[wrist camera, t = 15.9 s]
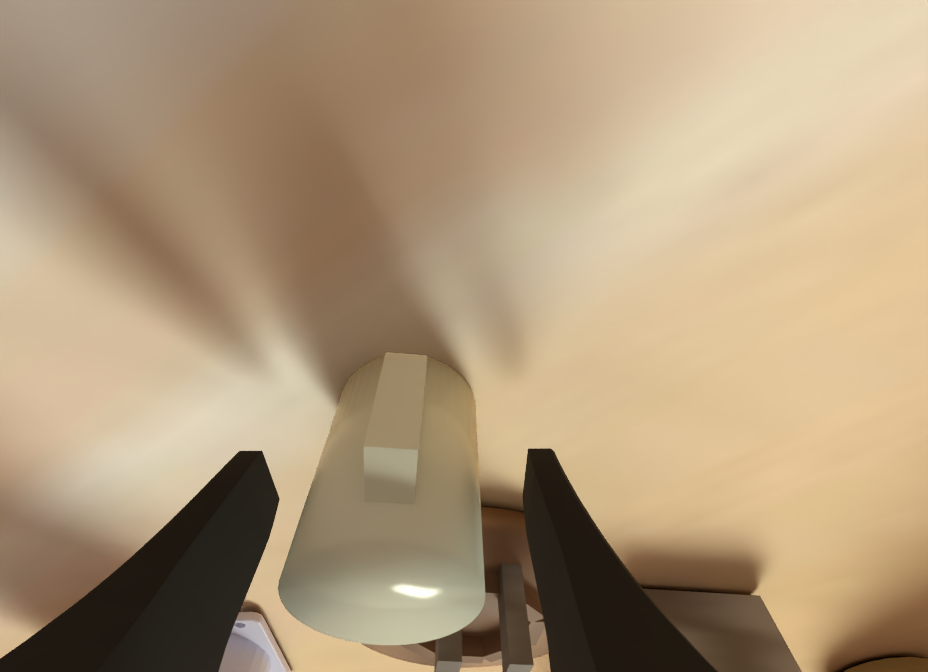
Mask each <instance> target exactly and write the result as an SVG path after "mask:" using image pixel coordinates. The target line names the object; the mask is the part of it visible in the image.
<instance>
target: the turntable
mask: <svg viewBox="0 0 928 672" xmlns="http://www.w3.org/2000/svg"><path fill="white" fill-rule="evenodd" d="M481 521H482V540H483V560H484V580H485V603H484V606H483V608H482V610H481V612H480V613H479V615H478V616H477V617H476V618H475V619H474V620H473V621H472V622H471V623H470V624H468V625H467V626H466V627H464V628H462V629H460V630H459V631H457V632H455V633H452V634H450V635H448V636H445V637H442V638H439V639H435V640H431V641H427V642H422V643H415V644H407V645H372V644H363V643H361V644H363V645H364V646H366V647H368V648H370V649H372V650H374V651H377V652H379V653H381V654H384V655H387V656H390V657H393V658H396V659H400V660H404V661H408V662H413V663H418V664H423V665H431V666H435V672H459V671H460V668H470V667H488V666H498V665H502V666H503V672H530V671H531V669H532V667H533V658H536V657H540V656H542V655H545V654H548V653H549V651H548V643H547V636H546V630H545V624H544V619H543V614H542V609H541V604H540V599H539V594H538V589H537V585H536V580H535V575H534V570H533V565H532V560H531V555H530V550H529V545H528V540H527V535H526V526H525V516H524V513H523V512H518V511H513V510H508V509H500V508H491V507H481ZM643 590H644V591H645V592H646V593H647V594H648V596H649V597H650V598H651V599H652V600H653V601H654V603H655V604H656V605H657V606H658V607H659V609H660V610H661V611H662V612H663V613H664V614H665V616H666V617H667V618H668V619H669V620H670V621H671V622H672V623H673V624H674V625H675V626H676V628H677V629H678V630H679V631H680V632H681V633H682V634H683V635H684V636H685V637H686V638H687V639H688V641H689V642H690V643H691V644H692V645H693V646H694V647H695V648H696V649H697V650H698V651H699V652H700V653H701V655H702V656H703V657H704V658H705V659H706V660H707V661H708V662H709V663H710V664H711V665H712V666H713V667H714V668H715V669H716V670H717V671H718V672H801V670H800V668H799V666H798V664H797V662H796V661H795V659H794V657H793V655H792V653H791V651H790V650H789V648H788V646H787V644H786V642H785V641H784V639H783V637H782V635H781V633H780V631H779V630H778V628H777V626H776V624H775V622H774V621H773V619H772V617H771V615H770V613H769V611H768V610H767V608H766V606H765V604H764V602H763V600H762V599H761V597H760V596H755V595H739V594H722V593H706V592H689V591H673V590H656V589H643Z"/></svg>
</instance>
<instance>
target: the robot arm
mask: <svg viewBox="0 0 928 672" xmlns="http://www.w3.org/2000/svg"><path fill="white" fill-rule="evenodd" d="M278 503H279V496H278V493H277V491H276V488H275V485H274V482H273V480H272V477H271V474H270V471H269V469H268V466H267V463H266V460H265V458H264V455H263V452H262V451H239V452H238V453H237V454H236V455H235V456H234V457H233V458H232V459H231V460H230V461H229V462H228V463H227V464H226V465H225V466H224V467H223V468H222V469H221V470H220V471H219V472H218V473H217V474H216V475H215V476H214V477H213V478H212V479H211V480H210V482H209V483H208V484H207V485H206V486H205V487H204V488H203V489H202V490H201V491H200V492H199V493H198V494H197V495H196V496H195V497H194V498H193V499H192V500H191V501H190V502H189V503H188V504H187V505H186V506H185V507H184V508H183V509H182V510H181V511H180V512H179V513H178V514H177V515H176V516H175V517H174V518H173V519H172V520H171V521H170V522H169V523H168V524H166V525H165V526H164V527H163V528H162V529H161V530H160V531H159V532H158V533H157V534H156V535H155V536H154V537H153V538H152V539H150V540H149V541H148V542H147V543H146V544H145V545H144V546H143V547H142V548H141V549H140V550H139V551H137V552H136V553H135V554H134V555H133V556H132V557H131V558H130V559H129V560H127V561H126V562H125V563H124V564H123V565H122V566H121V567H119V568H118V569H117V570H116V571H115V572H114V573H112V574H111V575H110V576H109V577H108V578H107V579H105V580H104V581H103V582H102V583H100V584H99V585H98V586H97V587H96V588H94V589H93V590H92V591H91V592H89V593H88V594H87V595H86V596H85V597H83V598H82V599H81V600H79V601H78V602H77V603H76V604H74V605H73V606H72V607H70V608H69V609H68V610H66V611H65V612H64V613H62V614H61V615H60V616H58V617H57V618H56V619H54V620H53V621H52V622H50V623H49V624H48V625H46V626H45V627H44V628H42V629H41V630H40V631H38V632H37V633H36V634H34V635H33V636H32V637H30V638H29V639H28V640H26V641H25V642H23V643H22V644H21V645H19V646H18V647H16V648H15V649H14V650H12V651H11V652H9V653H8V654H6V655H5V656H4V657H2V658H1V659H0V672H291V670H290V668H289V666H288V664H287V662H286V660H285V658H284V656H283V654H282V652H281V650H280V649H279V647H278V645H277V643H276V641H275V639H274V637H273V635H272V633H271V631H270V629H269V627H268V625H267V623H266V621H265V619H264V618H263V616H262V615H261V614H259V613H256V612H239V611H240V609H241V606H242V604H243V601H244V599H245V597H246V594H247V592H248V589H249V587H250V584H251V582H252V579H253V577H254V574H255V572H256V570H257V567H258V565H259V562H260V560H261V557H262V554H263V552H264V549H265V547H266V544H267V542H268V539H269V536H270V533H271V529H272V526H273V522H274V519H275V515H276V511H277V507H278ZM523 506H524V516H525V526H526V535H527V540H528V545H529V550H530V555H531V560H532V565H533V570H534V575H535V580H536V585H537V589H538V594H539V599H540V604H541V609H542V614H543V619H544V624H545V630H546V636H547V643H548V651H549V659H550V668H551V672H718V671H717V670H716V669H715V668H714V667H713V666H712V665H711V664H710V663H709V662H708V661H707V660H706V659H705V658H704V657H703V656H702V655H701V653H700V652H699V651H698V650H697V649H696V648H695V647H694V646H693V645H692V644H691V643H690V642H689V641H688V639H687V638H686V637H685V636H684V635H683V634H682V633H681V632H680V631H679V630H678V629H677V628H676V626H675V625H674V624H673V623H672V622H671V621H670V620H669V619H668V618H667V617H666V616H665V614H664V613H663V612H662V611H661V610H660V609H659V607H658V606H657V605H656V604H655V603H654V601H653V600H652V599H651V598H650V597H649V596H648V594H647V593H646V592H645V591H644V590H643V588H642V587H641V586H640V585H639V583H638V582H637V581H636V580H635V578H634V577H633V576H632V575H631V573H630V572H629V571H628V569H627V568H626V567H625V565H624V564H623V563H622V561H621V560H620V559H619V557H618V556H617V555H616V553H615V552H614V550H613V549H612V548H611V546H610V545H609V543H608V542H607V541H606V539H605V538H604V536H603V535H602V533H601V532H600V530H599V529H598V527H597V526H596V524H595V523H594V521H593V520H592V518H591V517H590V515H589V513H588V512H587V510H586V509H585V507H584V506H583V504H582V502H581V501H580V499H579V497H578V496H577V494H576V492H575V490H574V489H573V487H572V485H571V483H570V482H569V480H568V478H567V476H566V474H565V473H564V471H563V469H562V467H561V465H560V463H559V461H558V459H557V457H556V455H555V452H554V451H553V450H552V449H528V455H527V464H526V472H525V481H524V490H523Z"/></svg>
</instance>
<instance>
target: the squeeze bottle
mask: <svg viewBox="0 0 928 672" xmlns="http://www.w3.org/2000/svg"><path fill="white" fill-rule="evenodd" d="M844 672H928V659H924V658H917V657H899V658H885V659H880V660H875V661H870V662H866V663H863V664H860V665H857V666H854V667H852V668H849V669H847V670H845V671H844Z"/></svg>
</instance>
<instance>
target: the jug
mask: <svg viewBox="0 0 928 672" xmlns="http://www.w3.org/2000/svg"><path fill="white" fill-rule="evenodd" d="M278 591H279V596H280V599H281V602H282V603H283V605H284V606H285V608H286V609H287V610H288V611H289V613H290V614H291V615H292V616H294V617H295V618H296V619H297V620H299V621H300V622H302V623H303V624H305V625H306V626H308V627H310V628H312V629H314V630H316V631H318V632H321V633H323V634H326V635H329V636H332V637H335V638H338V639H342V640H346V641H351V642H357V643H363V644H372V645H407V644H415V643H422V642H427V641H431V640H435V639H439V638H442V637H445V636H448V635H450V634H452V633H455V632H457V631H459V630H460V629H462V628H464V627H466V626H467V625H468V624H470V623H471V622H472V621H473V620H474V619H475V618H476V617H477V616H478V615H479V613H480V612H481V610H482V608H483V606H484V603H485V580H484V560H483V540H482V521H481V501H480V482H479V462H478V443H477V423H476V405H475V398H474V395H473V392H472V390H471V388H470V386H469V385H468V383H467V382H466V380H465V379H464V378H463V377H462V376H461V375H460V374H459V373H458V372H456V371H455V370H454V369H452V368H451V367H449V366H448V365H446V364H444V363H442V362H440V361H438V360H435V359H432V358H429V357H427V355H418V354H405V353H392V352H386V353H385V357H381V358H378V359H375V360H373V361H371V362H368V363H367V364H365V365H363V366H362V367H360V368H359V369H358V370H357V371H355V372H354V373H353V375H352V376H351V377H350V378H349V379H348V381H347V383H346V384H345V387H344V389H343V392H342V395H341V398H340V401H339V404H338V407H337V410H336V413H335V416H334V419H333V422H332V425H331V428H330V431H329V434H328V437H327V440H326V443H325V446H324V449H323V452H322V455H321V458H320V461H319V464H318V467H317V470H316V473H315V475H314V478H313V481H312V484H311V487H310V490H309V493H308V496H307V499H306V502H305V505H304V508H303V511H302V514H301V517H300V520H299V523H298V526H297V529H296V532H295V535H294V538H293V541H292V544H291V547H290V550H289V553H288V556H287V559H286V562H285V565H284V568H283V571H282V574H281V577H280V580H279V586H278Z"/></svg>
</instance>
